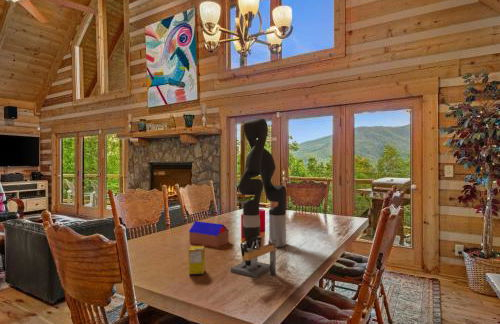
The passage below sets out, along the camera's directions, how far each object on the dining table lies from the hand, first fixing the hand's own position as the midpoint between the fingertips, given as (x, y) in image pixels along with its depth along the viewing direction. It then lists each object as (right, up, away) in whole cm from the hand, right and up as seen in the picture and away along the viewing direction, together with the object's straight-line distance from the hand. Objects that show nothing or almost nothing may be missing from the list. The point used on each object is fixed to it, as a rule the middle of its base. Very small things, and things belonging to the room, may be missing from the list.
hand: (251, 263), depth 136 cm
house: (-24, -3, +44) cm, 50 cm away
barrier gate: (+4, -3, -11) cm, 12 cm away
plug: (0, -3, 0) cm, 3 cm away
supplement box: (-23, -3, -3) cm, 24 cm away
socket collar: (0, -3, 0) cm, 3 cm away
